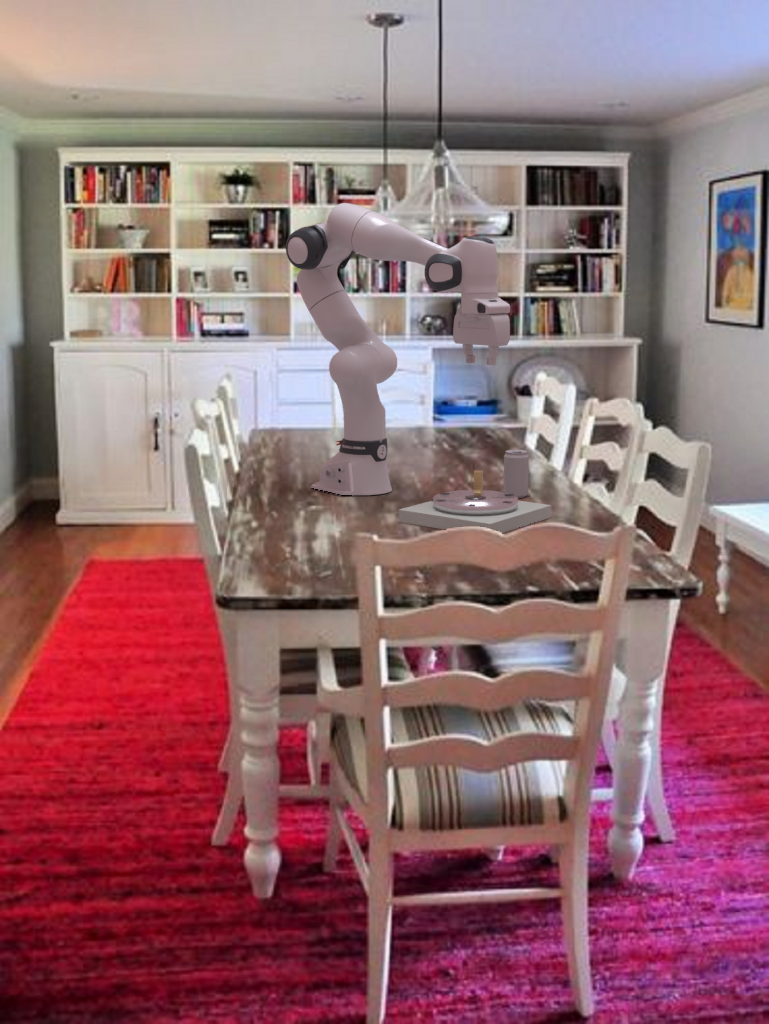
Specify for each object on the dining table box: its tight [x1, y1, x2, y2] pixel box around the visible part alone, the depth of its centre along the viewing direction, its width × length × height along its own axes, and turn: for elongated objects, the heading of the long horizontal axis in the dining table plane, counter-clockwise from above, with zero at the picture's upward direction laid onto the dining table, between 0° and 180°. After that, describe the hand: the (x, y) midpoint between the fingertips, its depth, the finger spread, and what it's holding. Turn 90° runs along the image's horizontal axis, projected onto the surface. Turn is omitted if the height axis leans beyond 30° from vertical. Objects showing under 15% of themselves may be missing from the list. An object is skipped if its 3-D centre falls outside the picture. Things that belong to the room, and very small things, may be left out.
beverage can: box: [503, 449, 530, 499], centre depth 314 cm, size 6×6×12 cm
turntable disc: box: [432, 469, 519, 515], centre depth 286 cm, size 20×20×7 cm
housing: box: [398, 499, 552, 534], centre depth 287 cm, size 26×26×3 cm
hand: (480, 364), depth 291 cm, fingers open, 8 cm apart
